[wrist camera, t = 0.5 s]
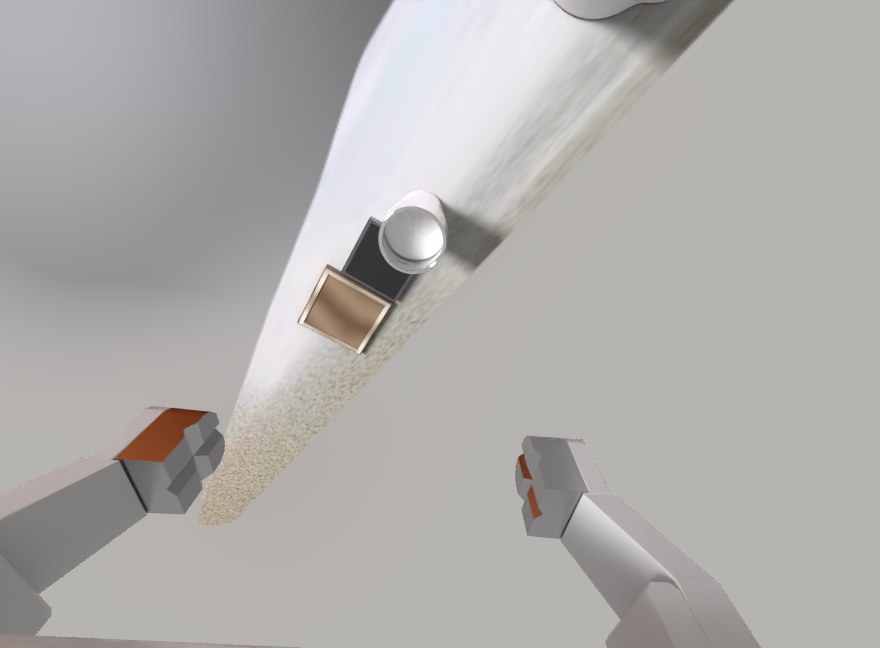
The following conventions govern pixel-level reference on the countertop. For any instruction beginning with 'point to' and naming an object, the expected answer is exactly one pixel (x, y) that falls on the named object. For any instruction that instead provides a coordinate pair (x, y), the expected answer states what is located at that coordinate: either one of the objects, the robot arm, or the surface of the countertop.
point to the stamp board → (344, 310)
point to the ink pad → (374, 265)
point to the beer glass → (414, 233)
